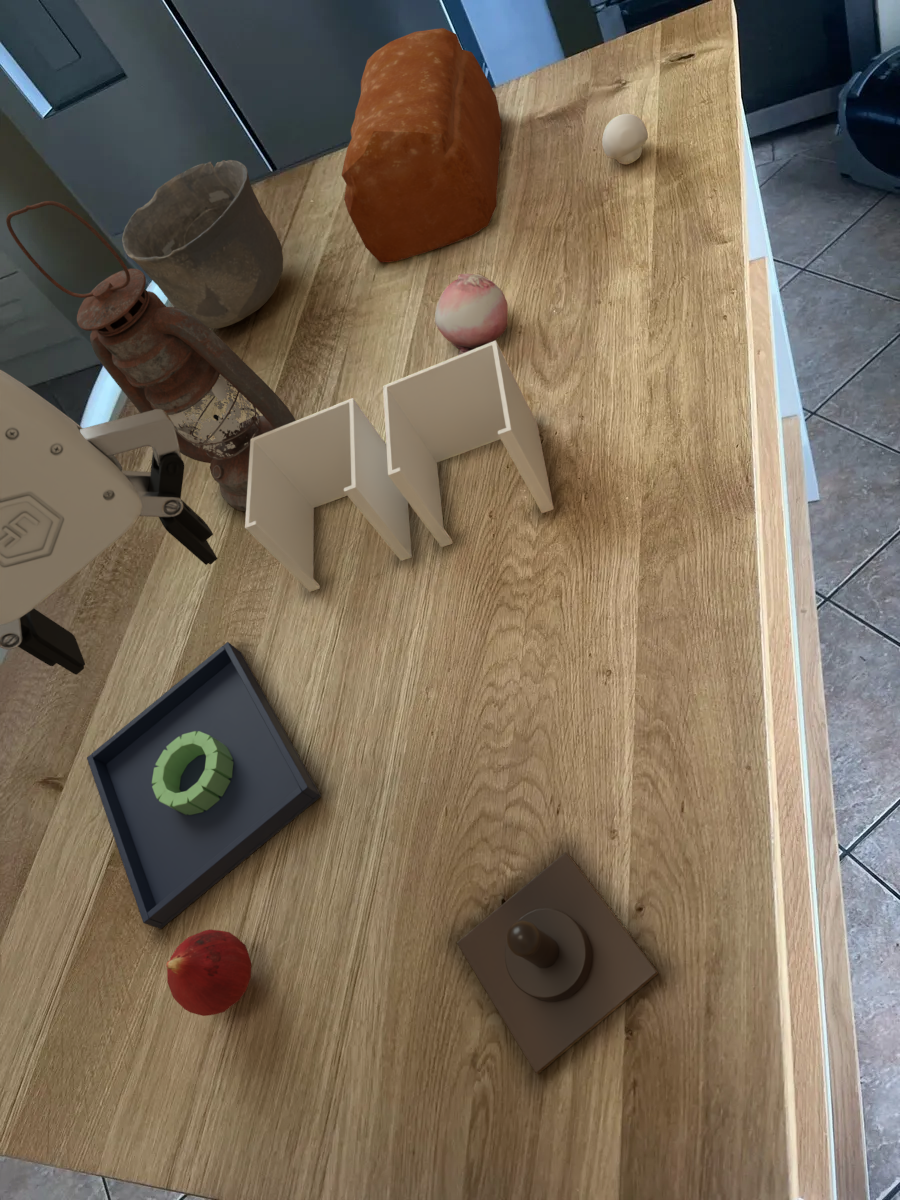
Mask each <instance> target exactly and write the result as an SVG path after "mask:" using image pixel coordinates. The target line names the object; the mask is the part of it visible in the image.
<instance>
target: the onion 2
mask: <svg viewBox="0 0 900 1200" xmlns="http://www.w3.org/2000/svg"><path fill="white" fill-rule="evenodd" d="M508 306H509V305H508V301H507V299H506V296H505V293H504V292H503V290H502V289H501V288H500V287H499V286H498V285H497V284H496V283H495V282H494V281H493V280H491V279H489V278H488V277H486V276H485V275H483V274H479V273H468V272H467V273H460V274H458V275H457V279H455V280H453V281H452V282H450V283H448V285H447V286H446V287H445V289H444V290H443V292H442V293H441V294H440V296H439V298H438V300H437V304H436V308H435V313H434V324H435V326H436V328H437V330H438V332H440V334H441V336H443V338H445V339H446V340H447V341H448V342H449V343H451V344H452V346H454V347H455V348H457V349H458V350H459V351H458V354H457V356H458V355H461V354H463V353H466V352H468V351H470V350H473V349H475V348H478V347H480V346H483V345H485V344H488V343H490V342H493V341H495V340H496V341H497V340H498V339H500V338H501V336H503V334H504V333H505V332H506V330H507V327H508V323H509V311H508V310H509V307H508Z"/></svg>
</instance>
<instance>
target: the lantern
mask: <svg viewBox="0 0 900 1200" xmlns="http://www.w3.org/2000/svg"><path fill="white" fill-rule="evenodd" d="M46 206H55V207H56V208H57V207H58V208H60V209H62V210H64V211H65V212H67V213H68V214H70V215H71V216H73V217H74V218H75V219H77V220H78V221H79V222H80V223H81V224H82V225H84V226H85V227H86V228H87V229H88V230H89V231H90V232H91V233H92V234H93V235H94V236H95V237H96V238H97V239H98V240H99V241H100V242H101V243H102V244H103V245H104V247H106V248H107V249H108V250H109V252H110V253H111V254H112V255H113V257H114V258H115V259H116V261H117V262H118V263H119V265H120V266H121V267H122V269H123V270H120V271H117V272H115V273H113V274H111V275H110V276H108V277H106V278H104V280H102V281H100V282H99V283H98V284H97V285H96V286H94V288H93V289H92V290H91V291H90V292H88V293H77V292H73V291H71V290H69V289H67V288H65V287H63V285H61V284H59V283H58V281H56V280H55V279H54V278H53V277H52V276H50V274H49V273H47V271H46V270H45V269H44V268H43V267H42V266H41V265H40V264H39V263H38V261H36V259H34V257H33V256H32V255H31V254H30V253H29V251H28V250H27V249H26V248H25V246H24V245H23V243H22V242H21V241H20V239H19V237H18V236H17V234H16V232H15V231H14V229H13V227H12V223H11V221H12V220H11V219H12V218H13V217H15V216H18V215H21V214H24V213H27V212H28V211H29V210H36V209H40V208H42V207H46ZM5 221H6V222H5V223H6V226H7V229H8V231H9V233H10V235H11V237H12V238H13V240H14V241H15V243H16V244H17V245H18V247H19V248H20V249H21V251H22V252H23V254H24V255H25V256H26V257H27V258H28V260H29V261H30V262H31V263H32V265H34V266H35V268H36V269H37V270H38V271H39V272H40V273H41V274H42V275H43V276H44V277H45V278H46V279H47V280H48V281H49V282H50V283H51V284H53V285H54V286H55V287H56V288H57V289H59V290H60V291H62V292H64V293H66V294H67V295H69V296H72V297H74V298H80V299H83V300H82V302H81V304H80V306H79V308H78V311H77V314H76V323H77V325H78V327H79V328H80V329H82V330H84V331H87V332H90V335H89V340H90V341H89V342H90V344H91V347H92V351H93V352H94V354H95V356H96V358H97V360H98V361H99V362H100V364H101V365H102V366H103V368H104V369H105V371H106V372H107V373H108V375H109V376H110V377H111V378H112V380H113V381H114V382H115V383H116V384H117V386H118V387H119V388H120V390H121V391H122V392H123V393H124V394H125V396H126V397H127V398H128V400H129V401H130V402H131V403H132V405H133V406H134V407H135V408H136V410H137V411H138V412H139V414H140V413H144V412H147V411H151V410H155V409H161V410H164V411H165V412H166V413H167V415H168V416H169V418H170V419H171V421H172V422H173V424H174V426H175V431H176V435H177V439H178V443H179V447H180V454H181V455H183V456H185V457H187V458H189V459H191V460H193V461H198V462H201V463H205V464H206V463H207V464H210V466H209V469H210V474H211V476H212V479H214V481H216V483H217V484H218V485H219V492H220V494H221V497H222V498H223V500H225V502H227V504H228V505H229V506H230V507H231V508H233V509H235V510H236V511H239V512H240V511H241V512H246V503H247V487H248V472H249V456H250V440H251V439H252V438H254V437H257V436H259V435H262V434H264V433H267V432H269V431H272V430H274V429H277V428H279V427H281V426H284V425H286V424H289V423H291V422H294V421H296V418H295V416H294V415H293V413H292V412H291V410H290V408H289V407H288V406H287V404H285V402H284V401H283V400H282V399H281V397H279V396H278V394H277V393H276V392H275V391H274V390H273V389H272V388H271V386H269V385H268V384H267V383H266V382H265V381H264V380H263V379H262V378H261V377H260V376H259V375H258V374H257V373H256V372H255V371H254V370H253V369H252V368H251V366H249V365H248V364H247V363H246V362H245V361H244V360H243V359H242V358H241V357H240V356H239V355H238V354H237V352H235V351H234V350H233V349H232V348H230V346H229V345H228V344H226V342H224V341H223V339H221V337H219V336H218V335H217V334H216V333H215V332H214V331H213V330H212V329H211V328H208V327H207V326H206V325H205V324H203V323H202V322H201V321H200V320H198V319H197V318H196V317H194V316H193V315H191V314H190V313H188V312H186V311H184V310H182V309H179V308H175V307H174V306H167V305H166V304H165V303H164V302H163V300H161V298H160V297H159V296H158V295H157V294H156V293H155V292H153V291H150V290H147V289H145V288H146V284H147V278H146V275H145V274H144V273H145V272H143V271H141V270H140V269H137V268H128V267H127V265H126V264H125V262H124V261H123V259H122V258H121V257H120V255H119V254H118V252H117V251H116V250H115V249H114V248H113V247H112V246H111V244H109V242H108V241H107V240H106V239H105V238H104V237H103V235H101V234H100V233H99V231H97V230H96V229H95V227H93V226H92V224H90V223H89V222H87V221H86V220H85V219H84V218H83V217H82V216H81V215H80V214H78V213H77V212H75V211H74V210H73V209H71V208H69V206H67V205H65V204H63V203H60V202H58V201H55V200H45V201H41V202H38V203H35V204H32V205H31V204H30V205H26V206H24V207H22V208H19V209H17V210H14V211H11V212H10V213H8V214H7V216H6V220H5ZM231 387H232V388H231ZM234 389H235V390H234ZM228 396H229V397H228ZM206 397H208V398H209V399H210V400H209V402H208V399H205V398H206ZM215 398H216V399H215ZM214 399H215V401H216V402H214V406H215V407H217V410H222V409H225V411H224V412H221V416H220V414H216V413H215V414H213V415H212V417H213V418H211V417H208V418H206V419H205V418H203V419H202V417H203V415H204V413H205V412H206V411H207V409H208V408H209V406H210V405H211V403H212V402H213V401H214ZM224 400H226V401H224ZM238 400H239V401H240V402H239V401H238ZM227 401H228V402H227ZM204 402H205V403H204ZM207 402H208V403H207ZM206 403H207V404H206ZM225 404H226V405H225ZM202 405H204V406H203V407H202ZM192 407H193V408H192ZM224 407H225V408H224ZM203 408H204V409H203ZM193 409H194V411H192V410H193ZM200 411H201V413H200ZM189 412H190V413H191V414H190V413H189ZM243 413H244V414H245V420H242V421H239V420H240V419H242V417H243V416H244V414H243ZM259 413H260V414H261V415H260V414H259ZM197 415H199V417H198V418H197ZM237 419H238V420H237ZM203 420H204V421H203ZM199 424H200V425H199ZM198 426H199V427H200V428H199V427H198ZM194 434H195V435H194ZM212 437H214V438H213V439H211V438H212Z"/></svg>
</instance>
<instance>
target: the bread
mask: <svg viewBox="0 0 900 1200" xmlns="http://www.w3.org/2000/svg"><path fill="white" fill-rule="evenodd" d="M459 39H460V38H459V37H458V34H457V33H455V32H454V31H451V30H449V29H447V28H444V27H439V28H433V29H426V30H418V31H413V32H411V33H408V34H406V35H403V36H401V37H399V38H396V39H394V40H391V41H389V42H388V43H386V44H385V45H384V46H383V45H382V47H380V48H379V49H377V50H376V51H375V52H373V53H372V55H371V56H370V57H368V59H367V60H366V64H365V67H364V70H363V73H362V77H361V79H360V97H359V99H358V102H357V106H356V109H355V111H354V119H353V122H352V124H351V128H350V136H351V139H350V141H349V143H348V145H347V148H346V152H345V157H344V160H343V165H342V171H341V177H342V178H343V181H344V183H345V190H344V198H343V200H344V204H345V207H346V209H347V213H348V215H349V217H350V219H351V221H352V223H353V225H354V227H355V229H356V231H357V233H358V235H359V237H360V239H361V241H362V243H363V245H364V247H365V249H367V251H368V252H369V253H370V254H371V255H372V257H374V258H375V259H376V260H377V261H378V262H379V263H393V262H399V261H403V260H405V259H408V258H412V257H415V256H416V257H417V256H419V255H422V254H425V253H428V252H431V251H434V250H437V249H441V248H443V247H447V246H449V245H453V244H454V243H457V242H460V241H462V240H464V239H466V238H469V237H472V236H474V235H475V234H477V233H479V232H480V231H482V230H483V229H485V228H486V227H488V226H489V225H490V222H491V221H492V218H493V216H494V214H495V211H496V209H497V207H498V183H499V172H500V171H499V170H500V156H501V155H500V153H501V139H502V127H503V126H502V119H501V113H500V110H499V104H498V99H497V95H496V93H495V91H494V89H493V87H492V85H491V83H490V82H489V80H488V77H487V75H486V74H485V72H484V70H483V69H482V66H481V65H480V63H479V61H478V59H477V58H476V56H475V55H474V53H473V52H472V51H469V50H465V49H463V47H462V44H461V42H460V40H459Z"/></svg>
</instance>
